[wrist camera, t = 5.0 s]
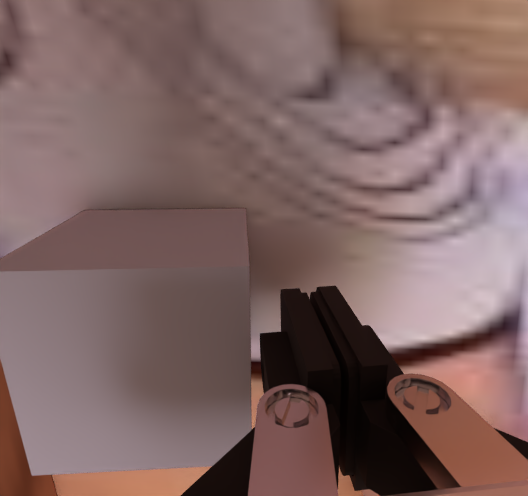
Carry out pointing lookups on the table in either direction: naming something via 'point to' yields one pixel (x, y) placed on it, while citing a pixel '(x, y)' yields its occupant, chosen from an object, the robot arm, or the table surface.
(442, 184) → the table surface
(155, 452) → the block
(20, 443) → the board
